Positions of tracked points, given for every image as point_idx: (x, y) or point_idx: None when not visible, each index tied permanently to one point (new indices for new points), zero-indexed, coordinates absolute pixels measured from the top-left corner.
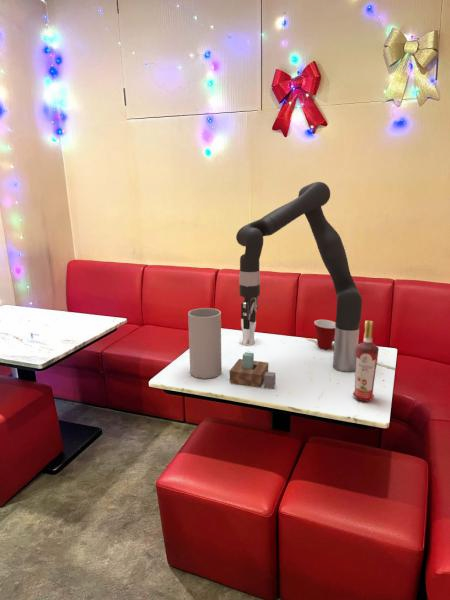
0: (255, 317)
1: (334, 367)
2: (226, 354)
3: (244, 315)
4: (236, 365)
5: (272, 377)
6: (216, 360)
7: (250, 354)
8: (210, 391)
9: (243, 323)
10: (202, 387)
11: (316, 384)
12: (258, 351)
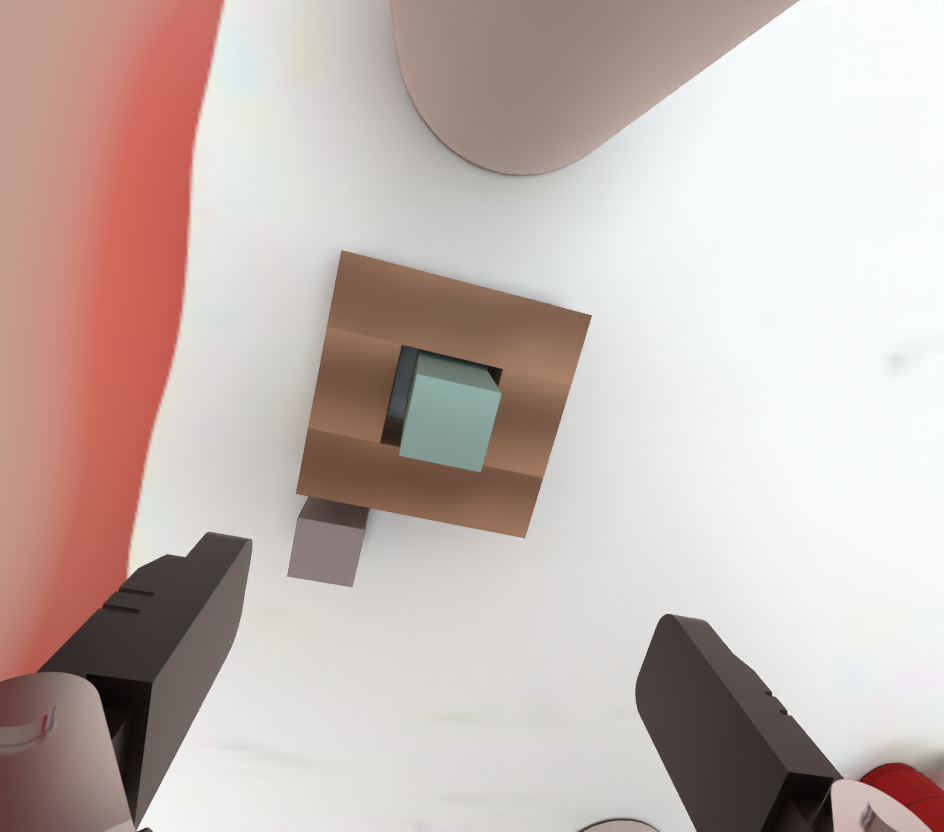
0: (682, 782)
1: (597, 830)
2: (861, 191)
3: (27, 823)
4: (455, 302)
5: (289, 565)
6: (447, 105)
7: (445, 445)
8: (201, 118)
9: (161, 591)
10: (255, 43)
11: (396, 740)
12: (885, 428)
